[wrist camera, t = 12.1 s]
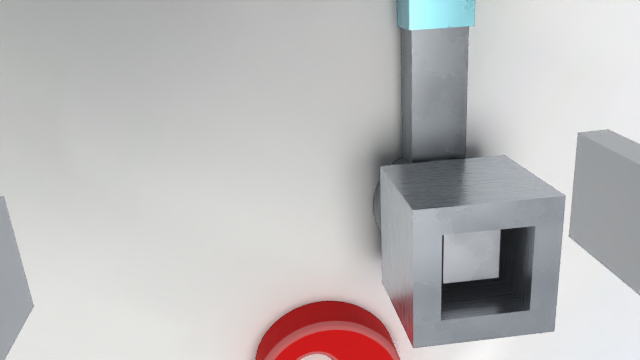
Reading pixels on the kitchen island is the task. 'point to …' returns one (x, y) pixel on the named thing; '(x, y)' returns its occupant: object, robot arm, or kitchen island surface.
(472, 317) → the hollow square tube
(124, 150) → the kitchen island surface
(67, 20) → the kitchen island surface
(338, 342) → the decorative ornament
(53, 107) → the kitchen island surface
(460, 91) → the ratchet
